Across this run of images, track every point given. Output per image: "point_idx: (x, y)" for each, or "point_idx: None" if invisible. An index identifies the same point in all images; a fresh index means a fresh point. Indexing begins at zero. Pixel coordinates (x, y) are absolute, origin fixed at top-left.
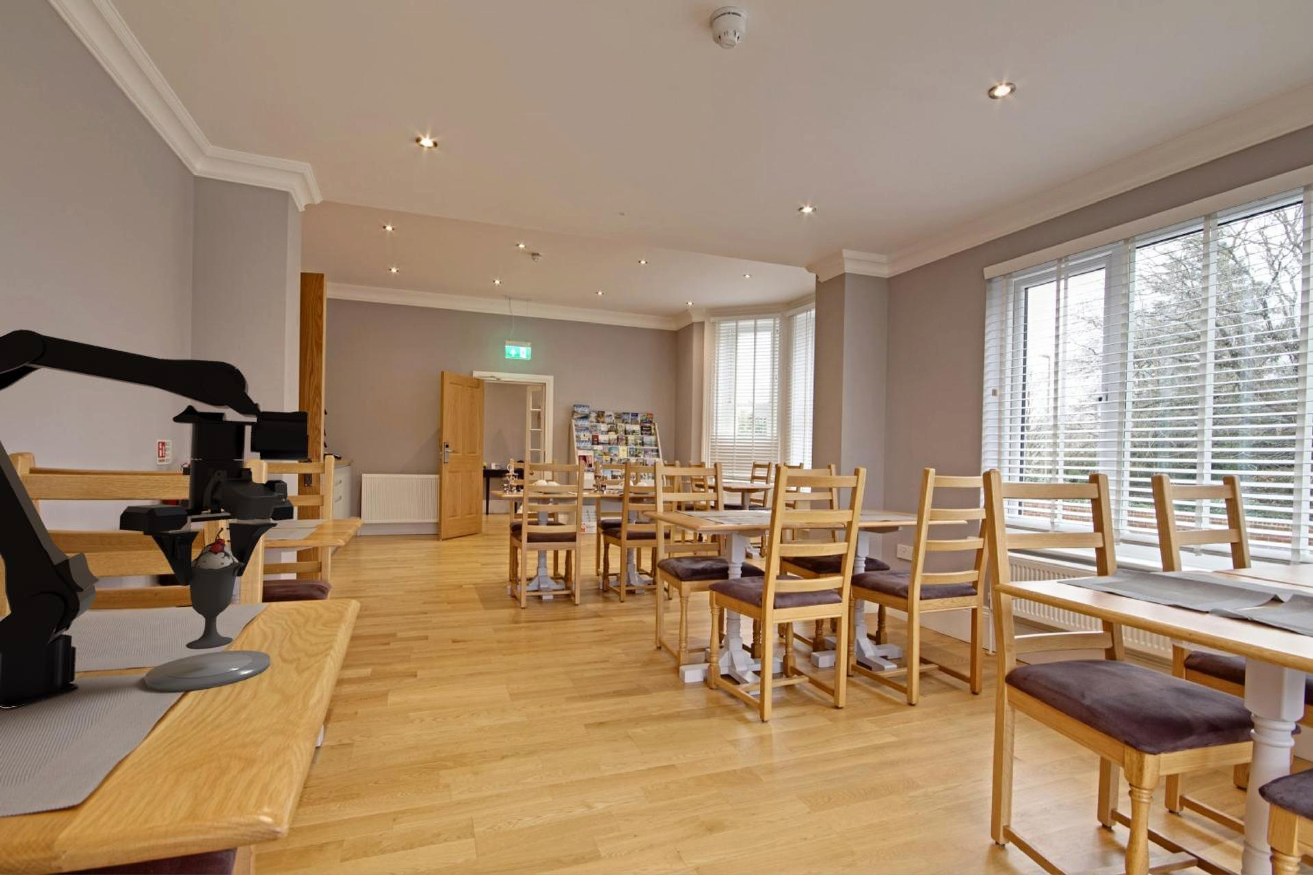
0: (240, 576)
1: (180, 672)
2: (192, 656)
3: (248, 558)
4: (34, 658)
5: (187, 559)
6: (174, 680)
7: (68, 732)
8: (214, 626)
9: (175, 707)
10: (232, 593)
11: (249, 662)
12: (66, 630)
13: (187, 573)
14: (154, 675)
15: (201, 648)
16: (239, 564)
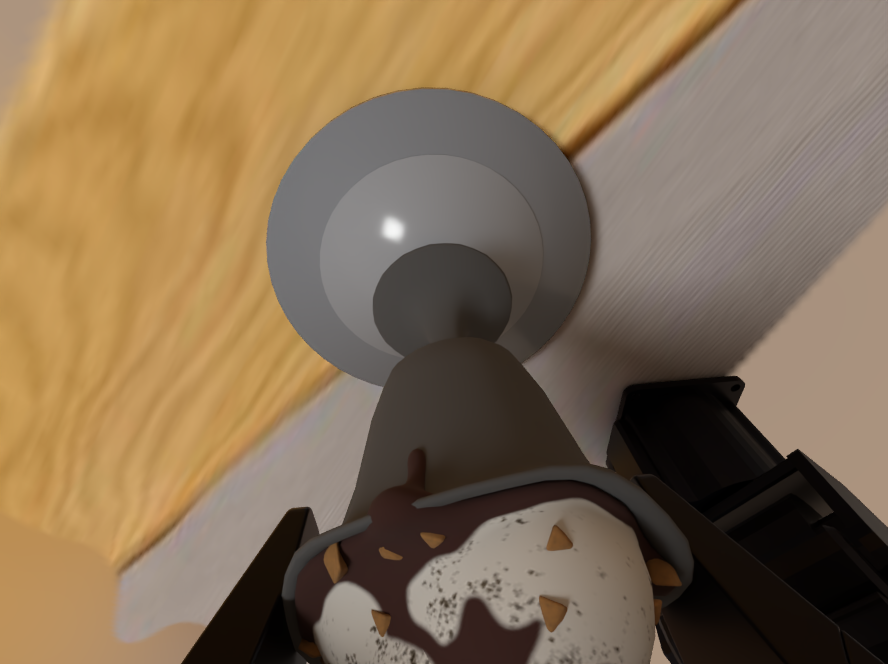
0: (300, 507)
1: (509, 281)
2: None
3: (218, 631)
4: (755, 454)
5: (813, 642)
6: (559, 232)
7: (859, 128)
8: (444, 327)
9: (683, 37)
10: (390, 393)
11: (357, 185)
12: None
13: (707, 532)
14: (544, 318)
15: (499, 268)
16: (406, 501)
